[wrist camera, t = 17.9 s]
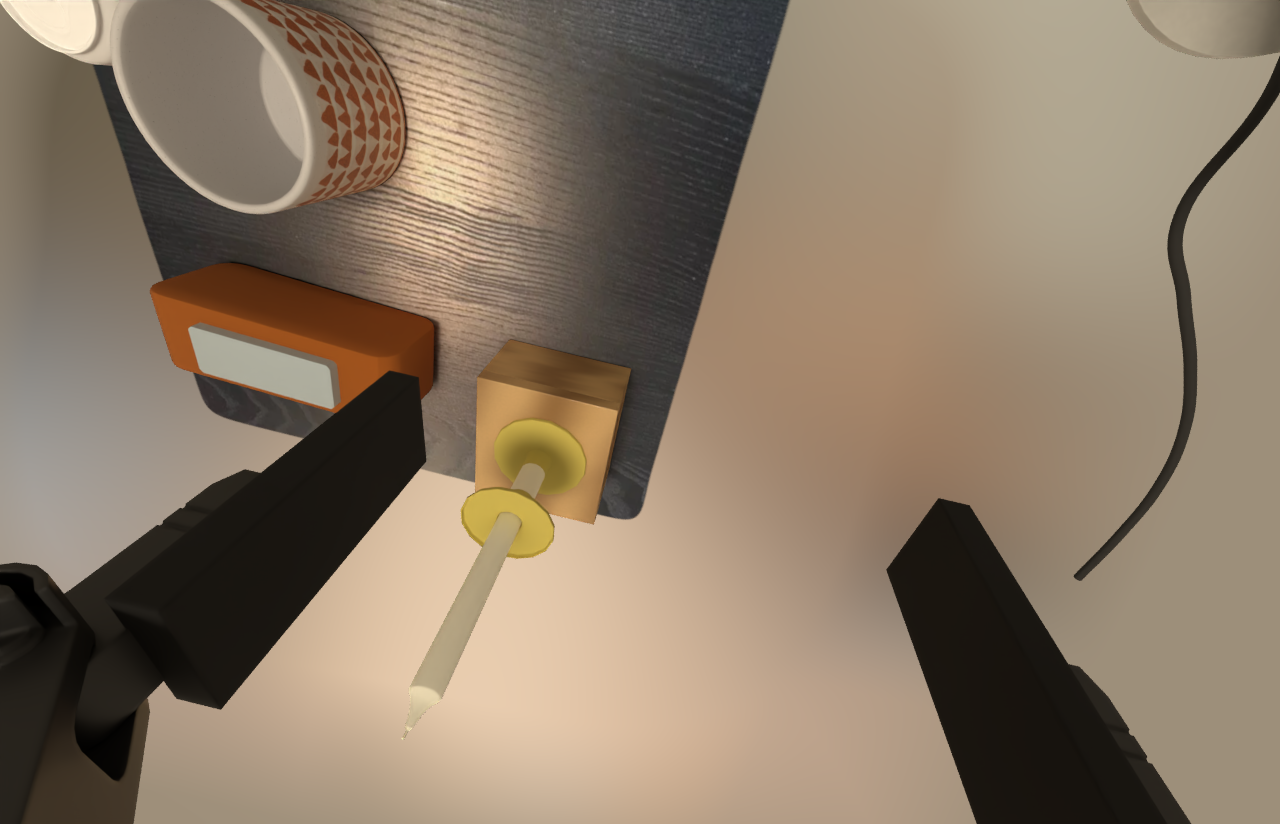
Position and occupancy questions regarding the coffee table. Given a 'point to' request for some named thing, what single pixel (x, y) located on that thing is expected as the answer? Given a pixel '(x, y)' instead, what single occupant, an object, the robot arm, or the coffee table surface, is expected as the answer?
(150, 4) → the planter
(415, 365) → the alarm clock
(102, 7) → the beverage can
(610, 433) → the lidded tan carton
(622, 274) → the coffee table surface
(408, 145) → the coffee table surface
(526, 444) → the candle
